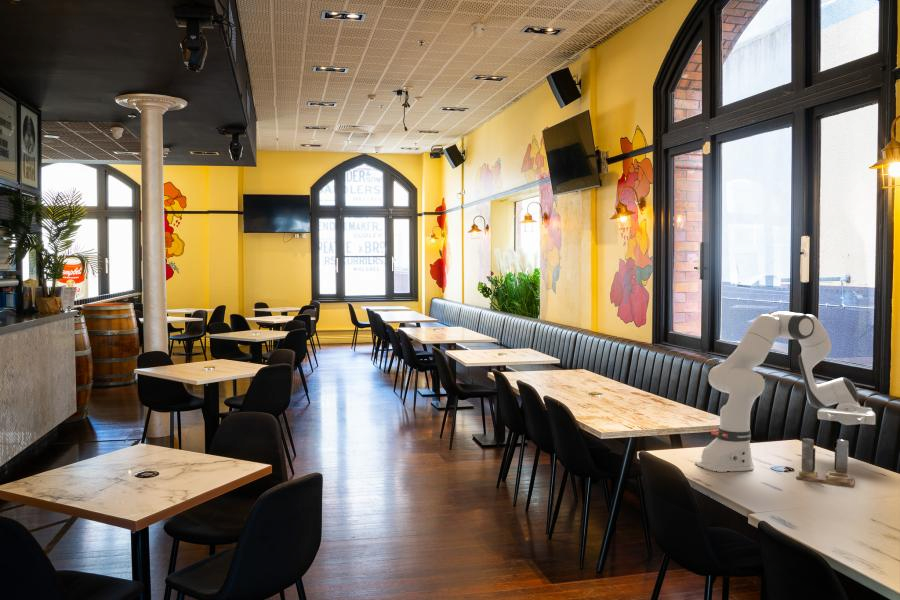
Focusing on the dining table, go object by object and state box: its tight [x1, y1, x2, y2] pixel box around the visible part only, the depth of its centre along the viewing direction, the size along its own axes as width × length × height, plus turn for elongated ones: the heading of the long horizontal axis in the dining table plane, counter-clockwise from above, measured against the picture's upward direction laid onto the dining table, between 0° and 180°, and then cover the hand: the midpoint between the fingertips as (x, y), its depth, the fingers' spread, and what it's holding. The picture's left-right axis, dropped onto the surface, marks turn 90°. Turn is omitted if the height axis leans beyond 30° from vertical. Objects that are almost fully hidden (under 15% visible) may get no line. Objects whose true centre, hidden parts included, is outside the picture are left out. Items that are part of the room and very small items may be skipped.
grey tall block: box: [834, 438, 849, 474], centre depth 266 cm, size 4×3×14 cm
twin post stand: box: [795, 438, 856, 488], centre depth 260 cm, size 18×9×14 cm, turn 57°
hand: (844, 419), depth 276 cm, fingers open, 8 cm apart
